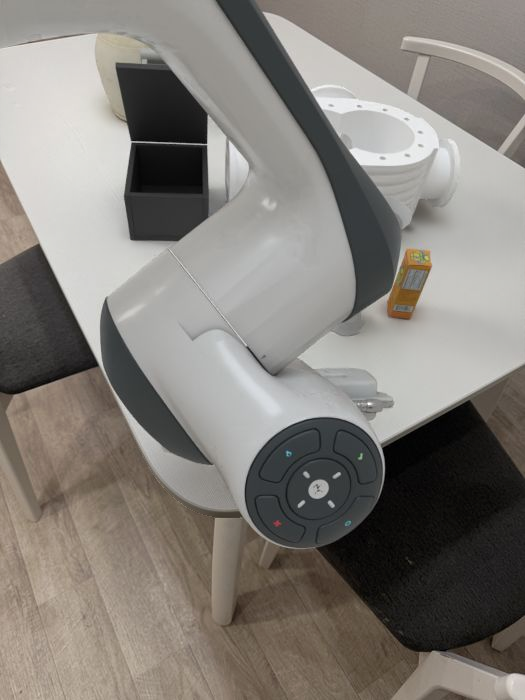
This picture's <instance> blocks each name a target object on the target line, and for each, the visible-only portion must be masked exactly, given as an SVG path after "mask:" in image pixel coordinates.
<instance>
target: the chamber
mask: <svg viewBox="0 0 525 700" xmlns="http://www.w3.org/2000/svg"><path fill="white" fill-rule="evenodd" d="M208 151H209V149H208V144H189V143H162V142H135V141H130V149H129V155H128V164H127V171H126V178H125V185H124V192H123V199H124V206H125V214H126V221H127V226H128V233H129V240H130V241H176V242H178V241H179V240H181V239H182V238H183V237H184V236H186V235H187V234H188V233H189V232H191V231H192V230H193V229H194V228H196V227H197V226H198V225H199V224H201V223H202V222H203V221H205V220H206V219H207V218H208V217H210V215H209V214H210V213H209V212H210V193H209V156H208V155H209V154H208V153H209V152H208Z"/></svg>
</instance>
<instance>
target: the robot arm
mask: <svg viewBox="0 0 525 700" xmlns="http://www.w3.org/2000/svg"><path fill="white" fill-rule="evenodd" d="M101 33H106V34H114V35H122V36H126V37H130V38H133V39H135V40H138V41H140V42H142V43H144V44H145V45H147V46H149V47H150V48H151V49H153V50H154V51H155V52H156V53H157V54H158V55H159V56H160V57H161V59H162V60H163V61H164V62H165V63H166V64H167V65H168V66H169V68H170V69H171V70H172V71H173V73H174V74H175V75H176V76H177V77H178V79H179V80H180V81H181V82H182V83H183V85H184V86H185V87H186V88H187V89H188V91H189V92H190V93H191V94H192V96H193V97H194V98H195V99H196V100H197V102H198V103H199V104H200V105H201V106H202V108H203V109H204V110H205V111H206V113H207V114H208V117H209V118H210V119H211V120H212V121H213V123H214V124H215V125H216V126H217V127H218V129H219V130H220V131H221V132H222V133H223V135H224V136H225V138H226V137H227V138H228V139H229V140H230V142H231V143H232V144H233V145H234V146H235V148H236V149H237V150H238V151H239V152H240V154H241V155H242V156H243V157H244V159H245V160H246V161H247V162H248V165H249V172H248V176H247V179H246V181H245V183H244V185H243V186H242V188H241V189H240V191H239V192H238V193H237V194H236V196H235V197H233V198H232V199H231V200H230V201H229V202H227V201H226V203H225V204H223V205H222V206H221V207H220V208H218V209H217V210H216V211H215V212H213V213H212V214H211V215H209V217H208V218H207V219H206V220H205V221H203V222H202V223H201V224H199V225H198V226H197V227H196V228H194V229H193V230H192V231H191V232H189V233H188V234H187V235H186V236H184V237H183V238H182V239H181V240H179V241H176V242H175V243H174V244H173V245H171V246H170V247H169V248H166V249H164V250H163V251H162V252H161V253H159V254H157V256H155V257H154V258H153V259H152V260H151V261H149V262H148V263H147V264H145V265H144V266H143V267H141V268H140V269H139V270H138V271H136V272H135V273H134V274H132V276H131V277H129V278H128V279H127V280H126V281H124V282H123V283H122V284H121V285H120V286H119V287H117V288H116V289H115V290H113V291H112V292H111V294H109V295H108V296H105V297H104V301H103V303H102V306H101V311H100V320H99V342H100V353H101V354H100V355H101V362H102V365H103V370H104V372H105V375H106V377H107V380H108V382H109V384H110V386H111V387H112V389H113V391H114V392H115V394H116V397H118V398H119V400H120V402H121V403H122V404H123V406H124V407H125V408H126V410H127V411H128V412H129V414H130V415H131V416H132V417H133V419H134V420H135V421H136V422H137V423H138V424H139V425H140V426H141V428H142V429H143V430H144V431H145V432H147V434H148V435H149V436H150V437H151V438H152V439H154V440H155V441H156V442H157V443H158V444H159V445H160V446H161V447H160V448H161V450H162V451H163V452H164V453H167V454H172V455H175V456H176V457H180V458H181V459H185V460H187V461H189V462H193V463H195V464H199V465H205V466H214V468H215V470H216V471H217V473H218V475H219V476H220V478H221V480H222V482H223V483H224V485H225V488H226V489H227V491H228V493H229V495H230V497H231V500H232V501H233V503H234V505H235V507H236V508H237V510H238V512H239V513H240V515H241V517H243V519H244V520H245V522H247V524H248V525H249V526H250V527H251V529H253V531H254V532H255V533H257V535H259V536H260V537H261V538H263V539H264V540H266V541H267V542H269V543H271V544H274V545H276V546H279V547H281V548H287V549H294V550H306V549H308V550H309V549H314V548H320V547H324V546H327V545H330V544H332V543H334V542H337V541H338V540H340V539H341V538H343V537H344V536H346V535H348V534H349V533H350V532H352V531H353V530H354V529H356V528H357V527H358V526H359V525H360V524H361V523H362V522H363V521H364V520H365V519H366V518H367V517H368V516H369V515H370V514H371V513H372V511H373V510H374V508H375V506H376V504H377V503H378V501H379V498H380V496H381V493H382V490H383V487H384V482H385V478H386V477H385V475H386V462H385V456H384V452H383V451H384V450H383V447H382V444H381V442H380V440H379V438H378V436H377V434H376V432H375V430H374V428H373V427H372V425H371V424H370V422H369V421H372V420H374V419H375V418H376V416H377V413H381V412H382V411H383V410H384V409H393V408H394V405H395V400H394V398H393V396H391V395H389V394H387V393H386V392H381V391H378V381H377V379H376V377H375V376H374V375H373V374H371V372H369V371H368V370H366V369H363V368H357V367H356V368H354V367H352V368H351V367H347V368H346V367H339V368H338V367H336V368H335V367H333V368H332V367H331V368H329V367H328V368H313V367H312V366H310V364H309V365H308V364H307V363H306V362H305V361H304V360H301V359H300V358H299V357H300V356H301V355H302V354H304V353H305V352H306V351H307V350H308V349H310V348H311V347H313V346H314V345H315V344H316V343H317V342H318V341H320V340H321V339H322V338H324V337H325V336H326V335H327V334H328V333H330V332H331V331H333V330H332V329H334V328H335V327H336V326H337V325H339V324H340V323H343V322H346V321H347V320H349V319H350V318H352V317H353V316H355V315H356V314H358V313H359V312H361V313H362V311H364V310H365V309H367V308H368V307H370V306H371V305H372V304H374V303H376V302H377V301H379V300H380V299H382V298H383V297H385V296H386V295H388V294H389V293H391V291H392V288H393V285H394V283H395V280H396V276H397V273H398V267H399V262H400V256H401V248H402V247H401V246H402V232H401V228H400V225H399V222H398V220H397V218H396V216H395V214H394V212H393V210H392V209H391V207H390V205H389V204H388V202H387V201H386V199H385V198H384V196H383V195H382V193H381V192H380V191H379V189H378V188H377V187H376V185H375V184H374V182H373V181H372V180H371V179H370V177H369V176H368V175H367V173H366V172H365V171H364V169H363V168H362V167H361V165H360V164H359V163H358V162H357V160H356V159H355V158H354V156H353V155H352V154H351V153H350V151H349V150H348V149H347V147H346V146H345V144H344V143H343V142H342V140H341V139H340V136H339V135H338V134H337V133H336V131H335V130H334V128H333V126H332V125H331V123H330V122H329V120H328V118H327V117H326V115H325V114H324V112H323V110H322V109H321V107H320V105H319V104H318V102H317V101H316V99H315V97H314V96H313V94H312V92H311V91H310V90H311V89H310V87H309V86H308V84H307V83H306V81H305V79H304V78H303V76H302V74H301V73H300V71H299V69H298V68H297V66H296V64H295V63H294V61H293V60H292V58H291V56H290V55H289V53H288V52H287V49H286V48H285V46H284V44H283V43H282V42H281V40H280V38H279V37H278V34H277V33H276V32H275V30H274V28H273V27H272V25H271V24H270V22H269V20H268V18H267V17H266V15H265V13H264V12H263V10H262V8H261V7H260V5H259V3H258V2H257V0H0V49H4V48H9V47H13V46H17V45H18V46H19V45H22V44H26V43H30V42H35V41H42V40H46V39H47V40H48V39H53V38H59V37H64V36H73V35H83V34H87V35H88V34H92V35H93V34H95V35H96V34H97V35H98V34H101ZM170 250H171V251H170ZM237 334H238V335H239V336H240V337H241V338H242V340H243V341H244V342H245V343H246V345H247V347H246V345H245V344H244V343H243V342H242V340H241V339H240V338H239V337H238V335H237Z"/></svg>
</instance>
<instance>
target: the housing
mask: <svg viewBox="0 0 525 700" xmlns="http://www.w3.org/2000/svg"><path fill="white" fill-rule="evenodd" d="M310 91H311V92H312V94H313V96H314V97H315V99H316V101H317V102H318V104H319V105H320V107H321V109H322V110H323V112H324V114H325V115H326V117H327V118H328V120H329V122H330V123H331V125H332V126H333V128H334V130H335V131H336V133H337V134H338V136H339V135H340V136H339V137H340V139H341V140H342V142H343V143H344V144H345V146H346V147H347V149H348V150H349V151H350V153H351V154H352V155H353V156H354V158H355V159H356V160H357V162H358V163H359V164H360V165H361V167H362V168H363V169H364V171H365V172H366V173H367V175H368V176H369V177H370V179H371V180H372V181H373V182H374V184H375V185H376V187H377V188H378V189H379V191H380V192H381V193H382V194H384V195H388V196H392V197H394V198H396V199H398V200H400V201H401V202H403V203H404V204H405V205H407V207H408V208H409V210H410V211H411V215H412V217H413V216H414V213H415V211H416V209H417V206H418V203H419V200H426V201H427V203H428V205H429V206H431V207H432V208H436V209H437V208H440V209H441V208H443V207H446V206H447V205H448V204H449V203H450V202H451V200H452V199H453V197H454V194H455V193H456V190H457V187H458V184H459V180H460V173H461V156H460V150H459V147H458V145H457V143H456V142H455V141H454V140H453V139H451V138H441V139H439V136H438V133H437V132H436V130H435V129H434V127H432V126H431V124H429V122H427V121H426V120H425V119H423V118H422V117H416V116H415V115H413V114H412V113H410V112H408V111H406V110H403V109H401V108H398V107H396V106H392V105H389V104H386V103H381V102H376V101H368V100H361V99H360V98H359V97H358V96H357V95H356V94H355V93H354V92H353V91H351V90H350V89H348V88H347V87H344V86H342V85H336V84H323V85H319V86H316V87H313V88H311V89H310ZM224 153H225V154H224V182H225V199H226V203H227V202H229V201H230V200H231V199H232V198H233V197H235V196H236V194H237V193H238V192H239V191H240V189H241V188H242V186H243V185H244V183H245V181H246V179H247V176H248V172H249V165H248V162H247V161H246V160H245V159H244V157H243V156H242V155H241V154H240V152H239V151H238V150H237V149H236V148H235V146H234V145H233V144H232V143H231V142H230V140H229V139H228V138H227V137H226V136H225V151H224ZM408 226H410V224H409V225H407V226H406V227H408Z"/></svg>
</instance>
